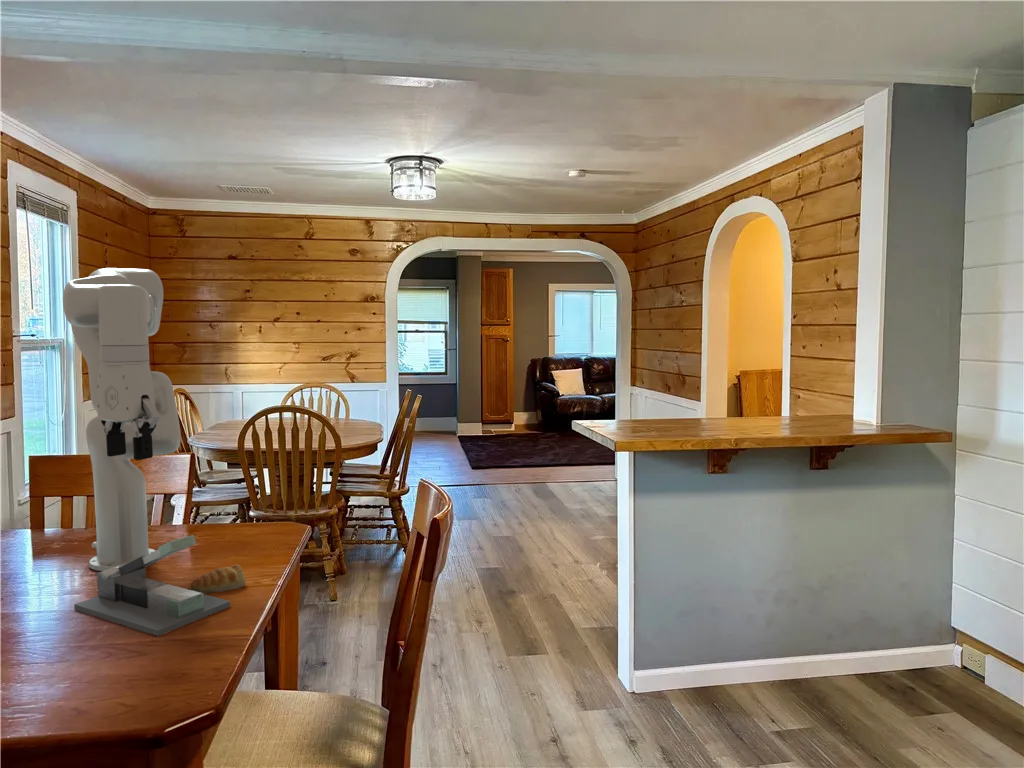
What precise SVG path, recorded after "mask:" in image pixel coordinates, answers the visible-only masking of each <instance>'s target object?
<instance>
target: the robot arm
mask: <svg viewBox="0 0 1024 768" xmlns="http://www.w3.org/2000/svg"><path fill="white" fill-rule="evenodd" d="M163 303H164V285H163V282H162V280H161V278H160V276H159V274H157V272H155V271H153V270H152V269H147V268H146V269H145V268H124V267H123V268H117V267H105V268H103V267H102V268H98V269H96V270H94V271H92V272H91V273H90V274H89V275H88V276H87V277H83V278H78V279H77V278H76V279H73V280H70V281H68V282H67V283H66V285H65V287H64V290H63V293H62V306H63V312H64V316H65V319H66V320H67V322H68V323H69V324H70V325H71V331H72V335H73V338H74V340H75V343H76V345H77V347H78V349H79V351H80V353H81V355H82V357H83V358H84V360H85V362H86V366H87V369H88V371H87V372H88V379H89V380H88V383H89V394H90V398H91V399H90V400H91V404H92V407H93V409H94V411H95V412H96V413H97V416H95V417H93V418H91V420H89V421H88V424H87V426H86V428H85V436H86V438H85V439H86V443H87V447H88V448H87V449H88V451H89V456H90V462H91V468H92V469H91V470H92V478H93V493H94V509H95V510H94V513H95V531H96V533H95V534H96V540H95V541H94V542H92V543H91V547H92V549H96V555H95V556H93V557H92V558H91V559H89V561H88V564H89V565H88V566H89V568H90V569H92V570H94V571H99V572H102V571H103V570H107V569H110V568H113V567H116V566H120V565H123V564H126V563H130V562H132V561H134V560H136V559H138V558H139V557H142V556H146V555H148V554H150V553H152V552H154V551H156V550H155V549H154V548H149V532H148V531H149V529H148V528H149V527H148V506H147V488H146V487H147V486H146V485H147V484H146V478H145V474H144V473H143V472H142V470H141V469H140V468H138V467H137V465H135V463H134V462H132V461H131V459H133V460H134V461H143V460H148V459H151V458H153V457H154V456H160V455H161V456H162V455H169V454H172V453H174V452H176V451H177V450H178V449H179V447H180V444H181V441H182V440H181V437H182V435H181V426H180V420H179V413H178V409H177V402H176V397H175V391H174V386H173V384H172V381H171V379H170V377H169V376H168V375H167V374H165V373H164V372H161V371H151V366H150V348H149V347H150V345H149V337H152V336H154V335H155V334H157V332H158V331H159V330H160V329H159V328H160V326H161V325H160V324H161V318H162V312H163V311H162V310H163V305H164V304H163Z"/></svg>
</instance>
